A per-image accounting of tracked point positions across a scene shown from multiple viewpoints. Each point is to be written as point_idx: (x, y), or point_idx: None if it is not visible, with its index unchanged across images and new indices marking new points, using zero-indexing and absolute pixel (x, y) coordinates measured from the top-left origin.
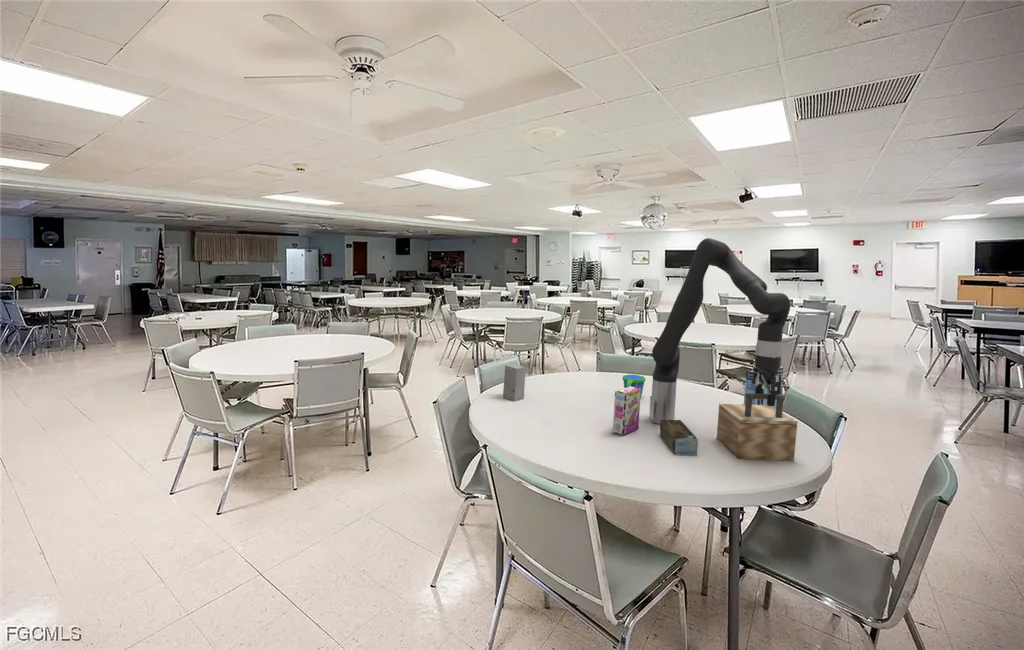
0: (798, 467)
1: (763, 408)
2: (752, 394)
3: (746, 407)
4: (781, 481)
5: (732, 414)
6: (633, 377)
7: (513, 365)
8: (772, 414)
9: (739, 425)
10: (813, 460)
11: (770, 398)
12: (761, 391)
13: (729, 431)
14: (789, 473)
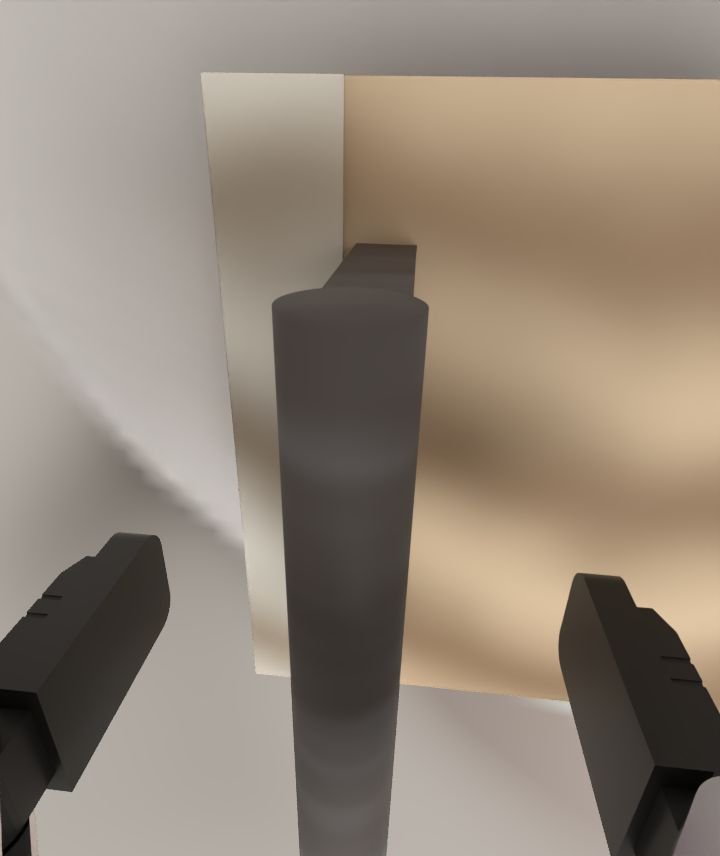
0: (229, 448)
1: (693, 616)
2: (291, 461)
3: (362, 267)
4: (7, 249)
5: (506, 78)
6: None
7: None
8: (467, 590)
9: None
10: None
11: (8, 644)
12: (592, 761)
13: None
14: (135, 356)
